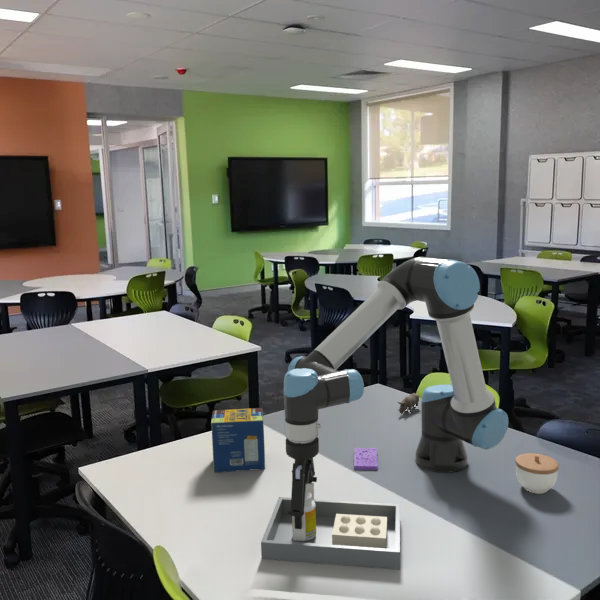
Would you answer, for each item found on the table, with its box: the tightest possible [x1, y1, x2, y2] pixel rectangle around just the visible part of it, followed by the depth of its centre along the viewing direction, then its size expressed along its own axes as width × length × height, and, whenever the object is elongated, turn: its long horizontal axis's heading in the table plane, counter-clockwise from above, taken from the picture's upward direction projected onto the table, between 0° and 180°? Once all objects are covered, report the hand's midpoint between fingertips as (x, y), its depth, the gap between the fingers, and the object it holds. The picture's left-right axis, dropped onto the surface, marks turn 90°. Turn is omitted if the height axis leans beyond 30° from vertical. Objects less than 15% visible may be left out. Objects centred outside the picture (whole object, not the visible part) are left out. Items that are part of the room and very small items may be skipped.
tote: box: [260, 496, 401, 571], centre depth 139 cm, size 30×20×5 cm, turn 80°
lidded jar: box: [514, 452, 559, 495], centre depth 161 cm, size 11×11×9 cm
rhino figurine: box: [397, 392, 420, 415], centre depth 221 cm, size 4×14×6 cm, turn 140°
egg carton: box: [332, 514, 387, 548], centre depth 138 cm, size 12×9×5 cm
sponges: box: [353, 447, 379, 471], centre depth 182 cm, size 7×13×2 cm, turn 174°
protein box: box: [210, 407, 266, 473], centre depth 181 cm, size 10×15×16 cm
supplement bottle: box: [292, 491, 316, 541], centre depth 140 cm, size 6×6×10 cm
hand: (304, 523), depth 140 cm, fingers open, 13 cm apart
